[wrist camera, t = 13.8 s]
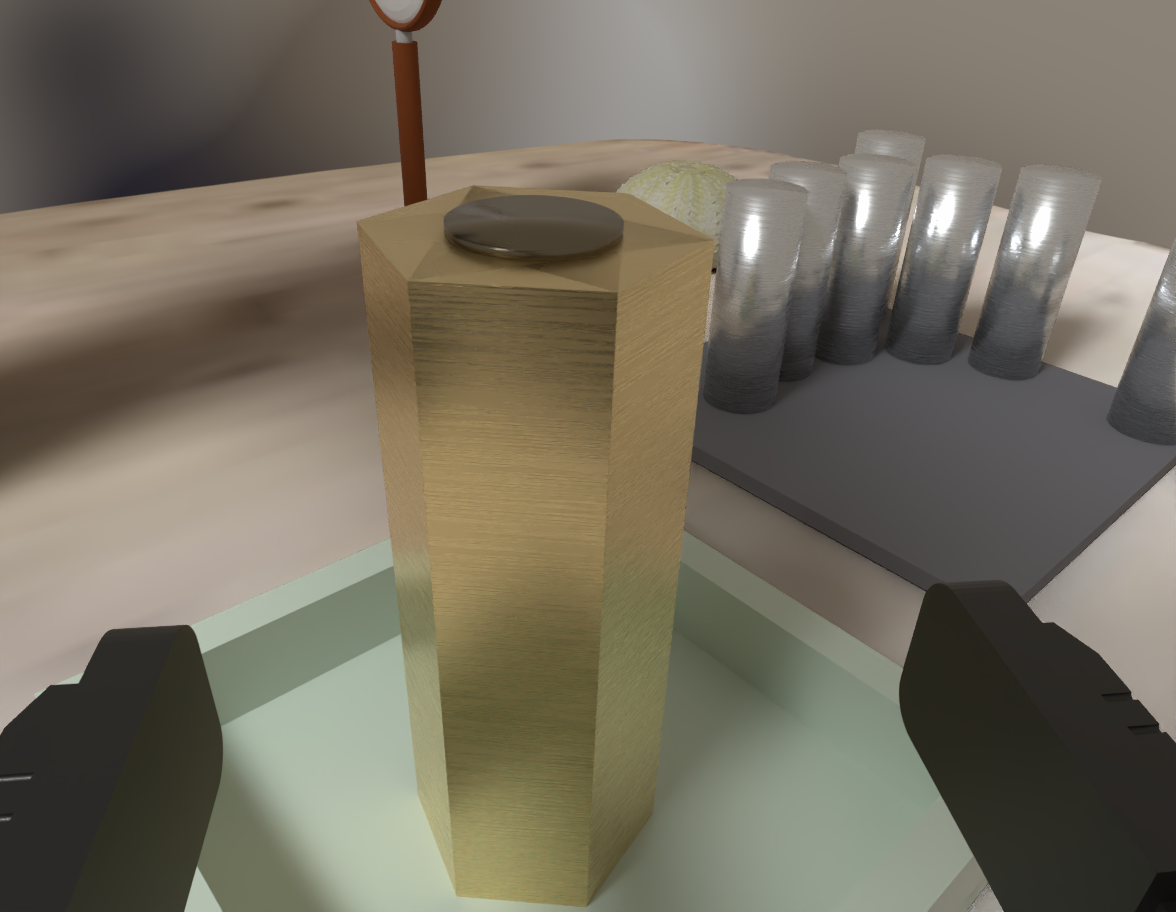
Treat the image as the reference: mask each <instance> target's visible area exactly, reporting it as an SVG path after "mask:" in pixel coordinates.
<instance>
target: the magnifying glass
mask: <svg viewBox="0 0 1176 912" xmlns="http://www.w3.org/2000/svg"><path fill="white" fill-rule="evenodd" d="M369 1H370V3H371V5H372V7H373V8H374V10H375V11H376V13H377V14H378V16H379V17H380V18H381V19H382V20H383V21H384V22H385V23H386V24H387V25H388V26H390V27H391V28H393V29H395V30H396V41H392V51H393V64H394V76H395V89H396V102H397V115H398V127H399V141H400V154H401V166H402V179H403V192H404V205H405V206H408V205H412V204H415V203H418V202H421V201H424V200H427V188H426V172H425V158H424V143H423V142H424V141H423V126H422V111H421V94H420V79H419V64H418V47H417V42H416V41H412V31H417V30H420V29H421V28H423V27H425V26H426V25H427V24H428V23H429V22H430V21H431V20H432V19H433V17H434V15H435V14H436V12H437V10H438V8H439V6H440V4H441V1H442V0H369Z"/></svg>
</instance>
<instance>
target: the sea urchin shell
mask: <svg viewBox="0 0 1176 912" xmlns="http://www.w3.org/2000/svg"><path fill="white" fill-rule="evenodd" d="M735 180H738V179H737V177H736V176H732V175H730V174H729V172H726V171H724V170H723V169H720V168H719V167H715V166H714V165H709V164H702V163H700V162H698V163H692V162H689V161H676V160H675V161H668V162H664V163H659V164H657V165H652V166H651V167H649V168H647V169H645V170H642V171H640V172H639V173H638V174H636V175H635V176H633V177H630V179H629V180H628V181H627V182H626V183H623V184H622V185H621V187H620V188H619V189H617V191H616V193H629V194H631V195H633V196H635V197H637V198H638V199H640V200H642V201H644V202H646V203H648V204H649V205H651V206H653V207H655V208H657V209H659V210H661V211H662V212H664V213H666V214H668V215H670V216H672V217H673V218H675V219H677V220H679V221H681V222H683V223H684V224H686V225H688V226H690V227H692V228H694V229H695V230H697V231H699V232H701V233H703V234H705V235H707V236H708V237H710V238H712V239H714V240H715V243H714V252H713V261H712V269H713V268H717V261H718V252H719V243H720V234H721V225H722V216H723V207H724V198H725V189H726V185H727V184H728V183H729V182H732V181H735Z"/></svg>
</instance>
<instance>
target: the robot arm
mask: <svg viewBox="0 0 1176 912" xmlns="http://www.w3.org/2000/svg"><path fill="white" fill-rule="evenodd" d="M899 704H900V711H901V715H902V720H903V723H904V726H905V729H906V731H907V734H908V736H909V738H910V740H911V741H912V743H913V745H914V747H915V749H916V751H917V752H918V754H919V756H920V758H921V760H922V762H923V764H924V765H925V767H926V769H927V771H928V773H929V775H930V776H931V778H932V780H933V782H934V784H935V786H936V787H937V789H938V791H939V793H940V795H941V797H942V798H943V800H944V802H945V804H946V806H947V808H948V809H949V811H950V813H951V815H952V817H953V819H954V821H955V822H956V824H957V826H958V828H959V830H960V832H961V833H962V835H963V837H964V839H965V841H966V843H967V844H968V846H969V848H970V850H971V852H972V854H973V855H974V857H975V859H976V861H977V863H978V865H979V866H980V868H981V870H982V872H983V874H984V876H985V878H986V879H987V881H988V883H989V885H990V887H991V889H992V890H993V892H994V894H995V896H996V898H997V900H998V901H999V903H1000V905H1001V907H1002V909H1003V911H1004V912H1176V743H1175V742H1174V741H1173V739H1172V738H1171V737H1170V736H1169V735H1168V734H1167V733H1166V732H1163V733H1161V731H1160V730H1159V723H1158V722H1157V721H1156V720H1155V719H1154V717H1153V716H1152V715H1151V714H1150V713H1149V712H1148V710H1147V709H1146V708H1145V707H1144V706H1143V705H1142V704H1141V702H1140V701H1139V700H1133V699H1132V696H1131V691H1130V690H1129V688H1128V687H1127V686H1126V685H1125V684H1124V683H1123V681H1122V680H1121V679H1120V678H1119V677H1118V676H1117V675H1116V673H1115V672H1114V671H1113V670H1112V669H1111V668H1110V666H1109V665H1108V664H1107V663H1106V662H1105V661H1104V659H1103V658H1102V657H1101V656H1100V655H1099V654H1098V653H1097V652H1095V651H1094V650H1092V649H1091V648H1090V647H1088V646H1087V645H1085V644H1084V643H1082V642H1081V641H1079V640H1078V639H1077V638H1075V637H1074V636H1072V635H1071V634H1069V633H1068V632H1067V631H1065V630H1064V629H1062V628H1061V627H1059V626H1058V625H1056V624H1055V623H1054V622H1051V623H1042V622H1041V621H1040V620H1039V618H1038V617H1037V616H1036V615H1035V613H1034V612H1033V611H1032V610H1031V609H1030V607H1029V606H1028V605H1027V604H1026V603H1025V601H1024V600H1023V599H1022V598H1021V596H1020V595H1019V594H1018V593H1017V592H1016V590H1015V589H1014V588H1013V587H1012V586H1011V585H1009V584H1008V583H1007V582H1005V581H1002V580H983V581H966V582H949V583H936V584H934V585H932V586H931V587H930V588H929V589H928V590H927V592H926V594H925V596H924V599H923V602H922V606H921V609H920V613H919V616H918V620H917V623H916V626H915V630H914V633H913V637H912V640H911V644H910V647H909V651H908V654H907V657H906V661H905V664H904V668H903V671H902V675H901V679H900V684H899ZM222 764H223V738H222V730H221V725H220V721H219V717H218V713H217V710H216V706H215V702H214V698H213V695H212V691H211V687H210V684H209V680H208V676H207V672H206V669H205V665H204V661H203V657H202V654H201V650H200V646H199V643H198V639H197V636H196V634H195V632H194V630H193V629H192V627H190V626H189V625H176V626H158V627H141V628H124V629H112V630H109V631H108V632H106V633H105V634H104V636H103V637H102V638H101V640H100V642H99V643H98V645H97V647H96V649H95V651H94V653H93V655H92V657H91V659H90V661H89V663H88V665H87V667H86V669H85V671H84V673H83V675H82V677H81V679H80V681H79V683H76V684H61V685H50V686H49V687H48V688H47V689H46V690H45V691H43V692H42V693H41V694H40V695H39V696H38V697H37V698H36V699H35V700H34V701H33V702H32V703H31V704H30V705H28V706H27V707H26V708H25V709H24V710H23V711H22V712H21V713H20V714H19V715H18V716H17V717H16V718H14V719H13V720H12V721H11V722H10V723H9V724H8V725H7V726H6V727H5V728H4V730H3V731H2V733H1V735H0V912H184V911H185V907H186V903H187V900H188V896H189V893H190V889H191V886H192V882H193V878H194V875H195V871H196V868H197V864H198V861H199V857H200V853H201V850H202V846H203V843H204V839H205V836H206V832H207V828H208V825H209V821H210V818H211V814H212V811H213V807H214V803H215V800H216V796H217V793H218V789H219V785H220V780H221V773H222Z"/></svg>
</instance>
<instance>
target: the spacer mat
mask: <svg viewBox="0 0 1176 912" xmlns="http://www.w3.org/2000/svg"><path fill="white" fill-rule="evenodd" d="M891 314H892V310H891V309H889V308H888V311H887V316H886V317H885V318H884V319H882V320H881V324H880V329H879V333H878V338H877V342H876V347H875V351H874V356H873V359H872V360H871V361H870V362H868V363H866V364H862V365H856V366H844V365H836V364H831V363H827V362H824V361H822V360H819V359H817V358H815V357H814V362H813V368H812V373H811V375H810V376H809V377H807V378H805V379H803V380H800V381H794V382H778V388H777V394H776V400H775V404H774V406H773V407H772V408H771V409H769V410H768V411H765V412H762V413H758V414H734V413H729V412H725V411H722V410H719V409H717V408H715V407H713V406H711V405H710V404H708V403H707V402H706V401H705V400H704V398H703V386H704V377H705V368H706V359H707V350H708V342H709V341H708V342H706V343H704V344H703V354H702V363H701V372H700V381H699V391H698V400H697V409H696V418H695V428H694V437H693V446H692V455H691V460H693V461H694V462H696V463H698V464H700V465H702V466H703V467H705V468H707V469H709V470H711V471H712V472H714V473H716V474H718V475H720V476H721V477H723V478H725V479H727V480H729V481H730V482H732V483H734V484H736V485H738V486H739V487H741V488H743V489H745V490H746V491H748V492H750V493H752V494H754V495H755V496H757V497H759V498H761V499H763V500H764V501H766V502H768V503H770V504H772V505H773V506H775V507H777V508H779V509H781V510H782V511H784V512H786V513H788V514H790V515H791V516H793V517H795V518H797V519H798V520H800V521H802V522H804V523H806V524H807V525H809V526H811V527H813V528H815V529H816V530H818V531H820V532H822V533H824V534H825V535H827V536H829V537H831V538H833V539H834V540H836V541H838V542H840V543H842V544H843V545H845V546H847V547H849V548H850V549H852V550H854V551H856V552H858V553H859V554H861V555H863V556H865V557H867V558H868V559H870V560H872V561H874V562H876V563H877V564H879V565H881V566H883V567H885V568H886V569H888V570H890V571H892V572H894V573H895V574H897V575H899V576H901V577H902V578H904V579H906V580H908V581H910V582H911V583H913V584H915V585H917V586H919V587H920V588H922V589H924V590H926V591H927V590H928V589H929V588H930V587H931V586H932V585H934V584H936V583H949V582H966V581H983V580H1002V581H1005V582H1007V583H1008V584H1009V585H1011V586H1012V587H1013V588H1014V589H1015V590H1016V592H1017V593H1018V594H1019V595H1020V596H1021V598H1022V599H1023V600H1024V601H1025V603H1027V602H1028V601H1029V600H1030V599H1031V598H1032V597H1033V596H1034V595H1035V594H1037V593H1038V592H1039V591H1040V590H1041V589H1042V588H1043V587H1044V586H1045V585H1046V584H1047V583H1048V582H1050V581H1051V580H1052V579H1053V578H1054V577H1055V576H1056V575H1057V574H1058V573H1059V572H1060V571H1061V570H1062V569H1064V568H1065V567H1066V566H1067V565H1068V564H1069V563H1070V562H1071V561H1072V560H1073V559H1074V558H1075V557H1076V556H1078V555H1079V554H1080V553H1081V552H1082V551H1083V550H1084V549H1085V548H1086V547H1087V546H1088V545H1089V544H1091V543H1092V542H1093V541H1094V540H1095V539H1096V538H1097V537H1098V536H1099V535H1100V534H1101V533H1102V532H1103V531H1105V530H1106V529H1107V528H1108V527H1109V526H1110V525H1111V524H1112V523H1113V522H1114V521H1115V520H1116V519H1118V518H1119V517H1120V516H1121V515H1122V514H1123V513H1124V512H1125V511H1126V510H1127V509H1128V508H1129V507H1130V506H1132V505H1133V504H1134V503H1135V502H1136V501H1137V500H1138V499H1139V498H1140V497H1141V496H1142V495H1143V494H1145V493H1146V492H1147V491H1148V490H1149V489H1150V488H1151V487H1152V486H1153V485H1154V484H1155V483H1156V482H1157V481H1159V480H1160V479H1161V478H1162V477H1163V476H1164V475H1165V474H1166V473H1167V472H1168V471H1169V470H1170V469H1171V468H1173V467H1174V466H1175V465H1176V445H1175V446H1165V445H1156V444H1151V443H1146V442H1143V441H1139V440H1136V439H1133V438H1131V437H1128V436H1126V435H1124V434H1122V433H1120V432H1119V431H1117V430H1116V429H1114V428H1113V427H1112V426H1111V425H1110V424H1109V423H1108V421H1107V419H1106V416H1107V413H1108V411H1109V408H1110V406H1111V403H1112V400H1113V398H1114V395H1115V393H1116V390H1117V388H1116V387H1113V386H1110V385H1107V384H1104V383H1102V382H1099V381H1096V380H1093V379H1090V378H1087V377H1084V376H1081V375H1079V374H1076V373H1073V372H1070V371H1067V370H1064V369H1061V368H1058V367H1055V366H1053V365H1050V364H1047V363H1044V362H1042V363H1041V366H1040V369H1039V372H1038V375H1037V376H1036V377H1034V378H1032V379H1029V380H1022V381H1013V380H1004V379H999V378H995V377H991V376H988V375H986V374H983V373H981V372H979V371H977V370H975V369H974V368H973V367H971V366H970V365H969V363H968V356H969V352H970V349H971V345H972V342H973V338H972V337H969V336H966V335H963V334H961V333H958V334H957V338H956V342H955V346H954V349H953V353H952V357H951V359H950V361H948V362H947V363H944V364H940V365H918V364H912V363H908V362H905V361H902V360H899V359H897V358H895V357H893V356H891V355H890V354H888V353H887V352H886V350H885V348H884V345H885V341H886V336H887V332H888V328H889V323H890V319H891Z"/></svg>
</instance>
